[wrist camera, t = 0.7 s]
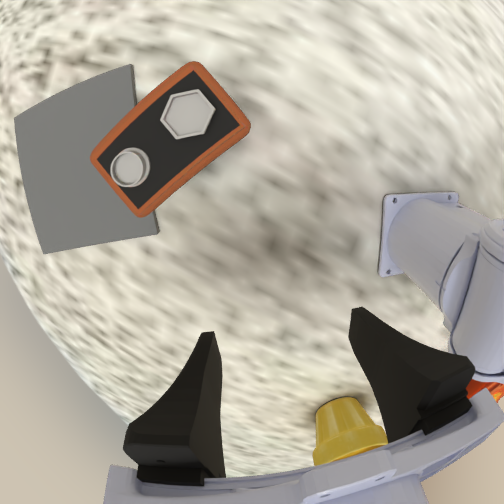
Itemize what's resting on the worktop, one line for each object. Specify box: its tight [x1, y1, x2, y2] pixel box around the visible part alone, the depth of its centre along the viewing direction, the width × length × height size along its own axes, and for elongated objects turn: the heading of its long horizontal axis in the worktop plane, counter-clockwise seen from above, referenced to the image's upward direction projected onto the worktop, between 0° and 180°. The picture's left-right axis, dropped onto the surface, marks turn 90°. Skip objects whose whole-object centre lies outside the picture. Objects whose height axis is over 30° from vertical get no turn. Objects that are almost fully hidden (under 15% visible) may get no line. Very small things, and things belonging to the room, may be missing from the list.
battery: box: [90, 61, 251, 218], centre depth 14 cm, size 4×7×10 cm, turn 127°
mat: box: [14, 64, 159, 254], centre depth 18 cm, size 13×14×1 cm
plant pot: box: [313, 397, 388, 466], centre depth 30 cm, size 10×10×10 cm
